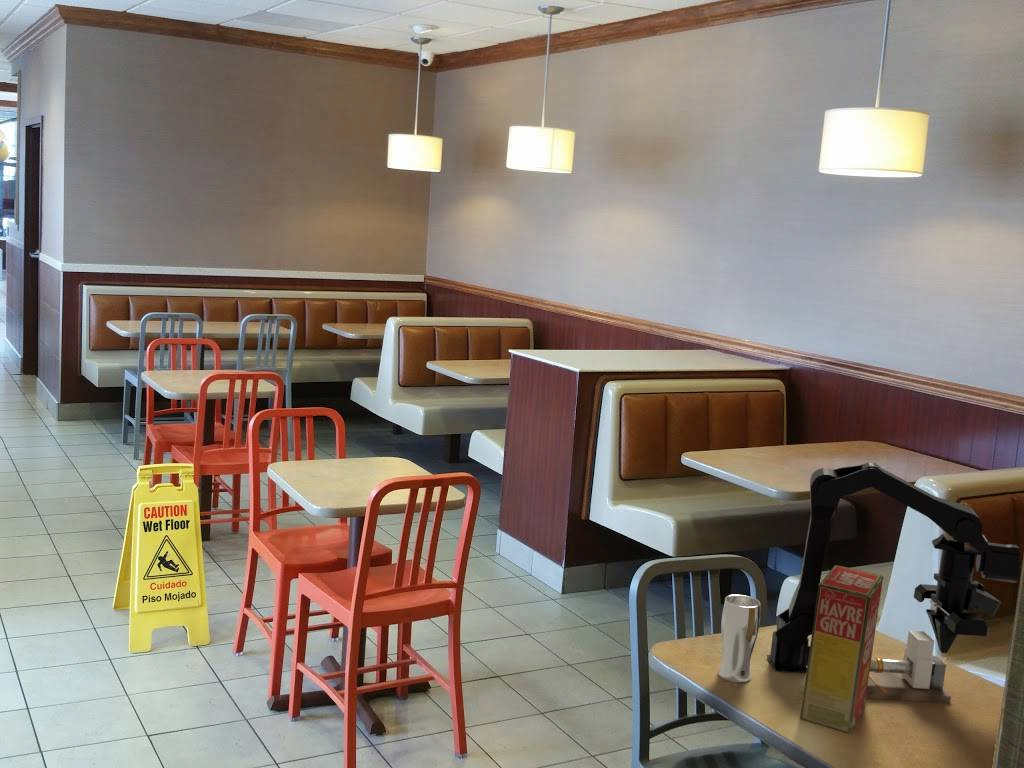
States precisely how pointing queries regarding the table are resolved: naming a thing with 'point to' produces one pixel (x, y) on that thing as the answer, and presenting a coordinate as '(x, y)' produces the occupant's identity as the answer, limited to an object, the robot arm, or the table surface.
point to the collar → (919, 659)
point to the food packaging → (841, 648)
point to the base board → (901, 689)
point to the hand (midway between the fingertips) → (943, 652)
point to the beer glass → (738, 636)
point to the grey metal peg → (910, 669)
